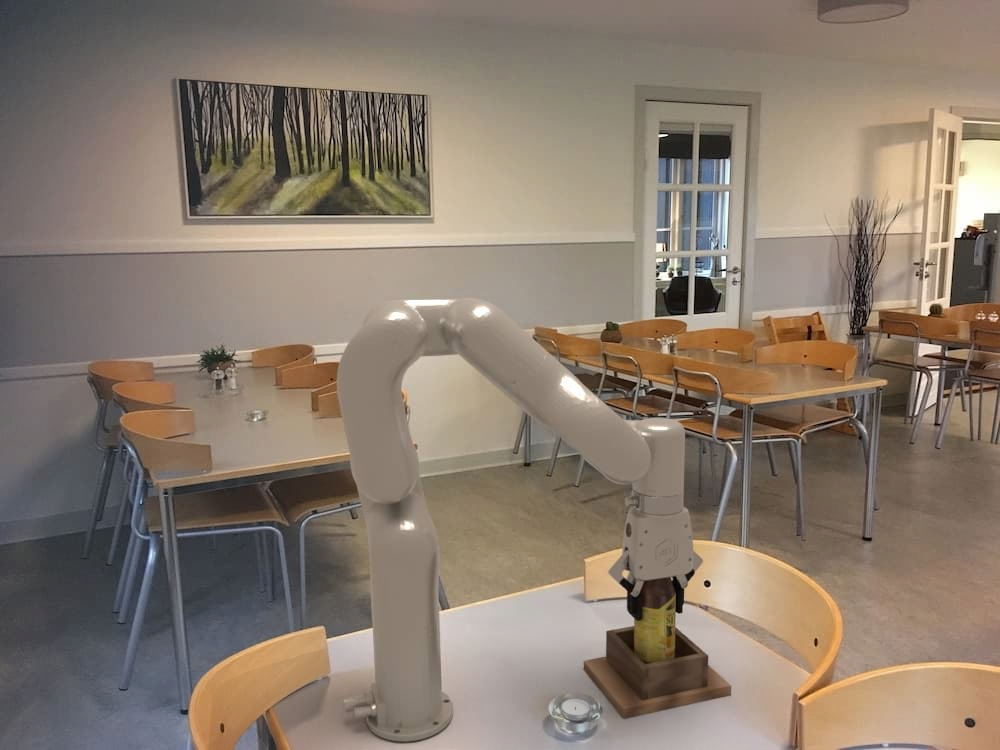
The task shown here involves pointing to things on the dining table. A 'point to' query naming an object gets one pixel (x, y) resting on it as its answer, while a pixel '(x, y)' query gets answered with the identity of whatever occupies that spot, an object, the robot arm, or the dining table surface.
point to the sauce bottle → (656, 622)
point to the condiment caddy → (653, 676)
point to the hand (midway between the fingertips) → (655, 612)
